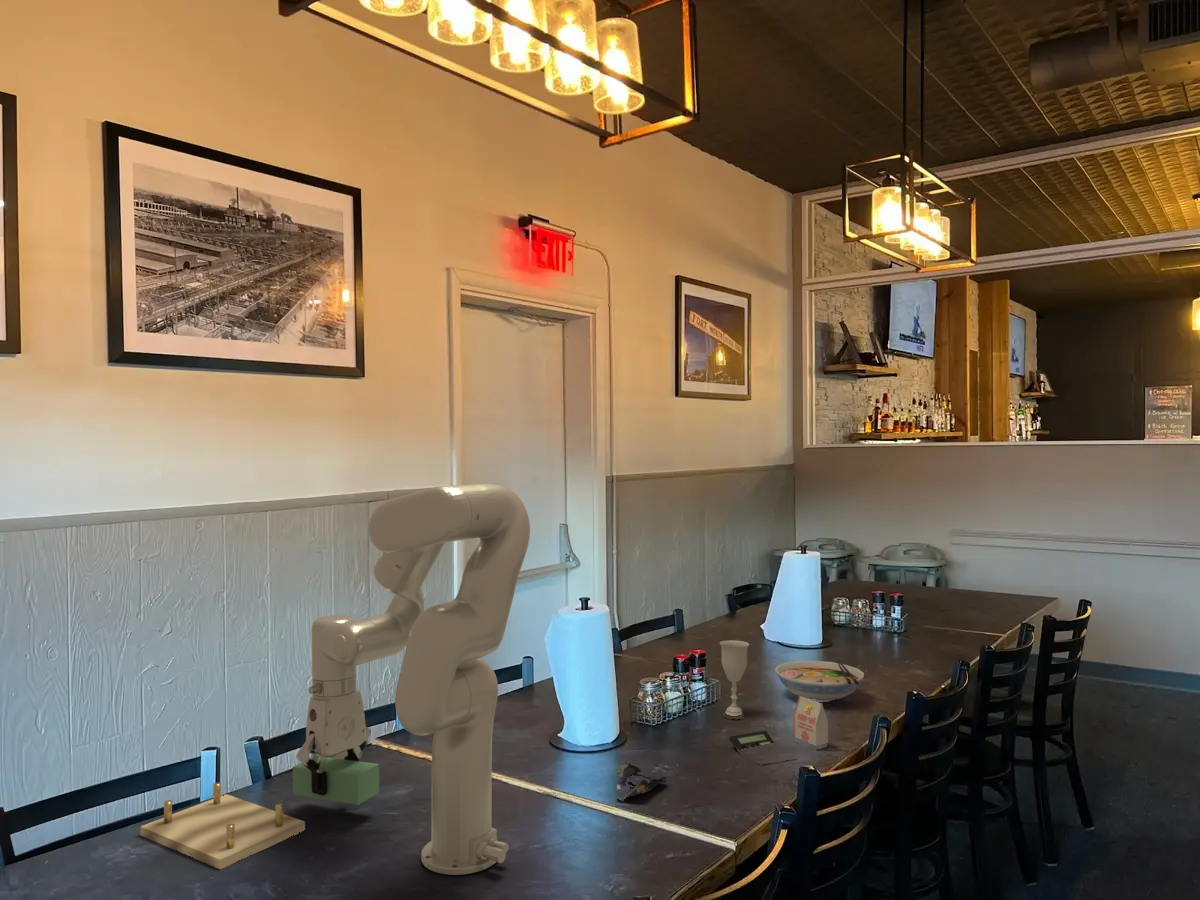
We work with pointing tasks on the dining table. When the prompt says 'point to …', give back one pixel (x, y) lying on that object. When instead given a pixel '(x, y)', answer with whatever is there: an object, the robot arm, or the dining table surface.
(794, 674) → the ramen bowl
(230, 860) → the chassis plate
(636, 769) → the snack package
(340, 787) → the olive green box
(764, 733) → the calculator
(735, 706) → the chalice
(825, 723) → the paper takeout bag
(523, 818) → the dining table surface
